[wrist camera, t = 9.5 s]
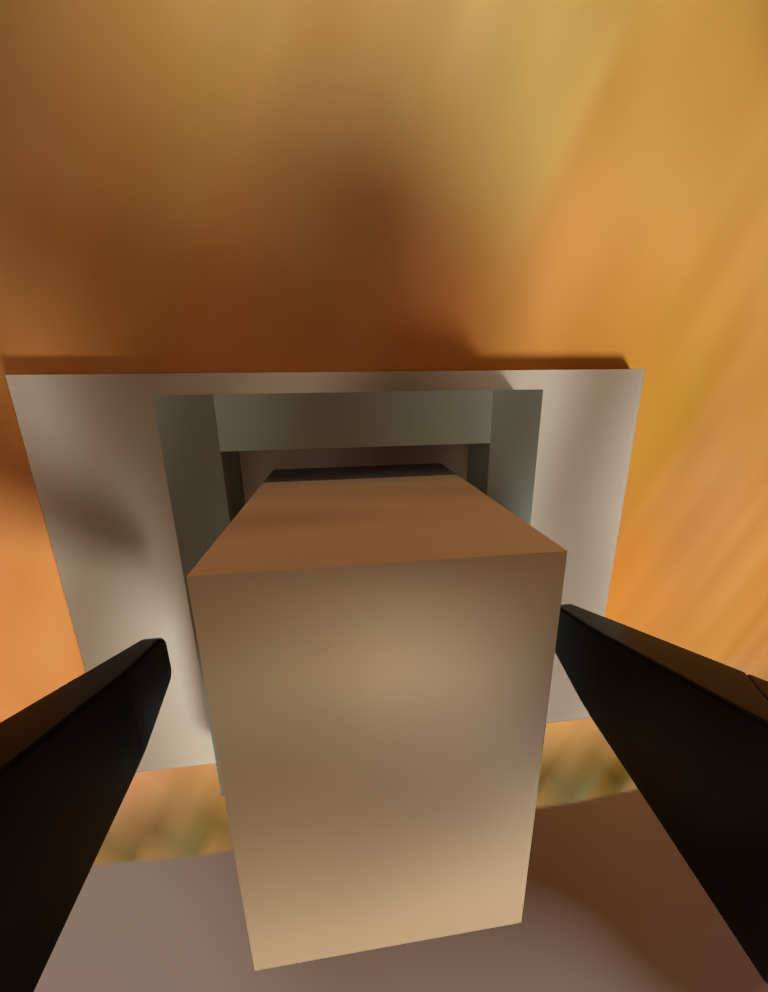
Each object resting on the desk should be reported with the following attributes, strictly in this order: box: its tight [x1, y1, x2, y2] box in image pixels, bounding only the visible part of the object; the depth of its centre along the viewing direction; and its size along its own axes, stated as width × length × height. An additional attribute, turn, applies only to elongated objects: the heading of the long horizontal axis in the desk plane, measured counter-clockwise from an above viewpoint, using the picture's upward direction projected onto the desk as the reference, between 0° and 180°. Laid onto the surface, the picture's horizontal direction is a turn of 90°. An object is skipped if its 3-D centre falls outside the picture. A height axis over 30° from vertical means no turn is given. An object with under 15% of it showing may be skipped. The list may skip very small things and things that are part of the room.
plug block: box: [187, 463, 567, 970], centre depth 8 cm, size 7×4×6 cm, turn 1°
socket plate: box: [5, 369, 645, 796], centre depth 11 cm, size 16×12×2 cm
